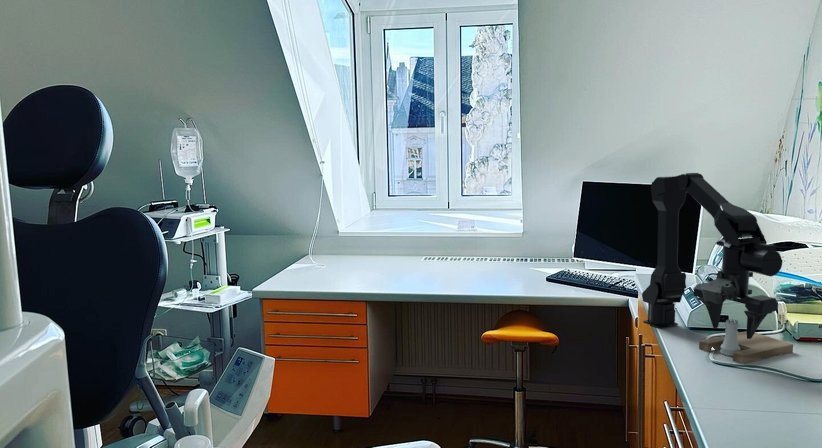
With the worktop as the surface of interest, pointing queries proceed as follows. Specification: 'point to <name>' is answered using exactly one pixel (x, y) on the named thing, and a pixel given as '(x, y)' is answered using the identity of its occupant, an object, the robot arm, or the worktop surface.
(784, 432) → the worktop surface
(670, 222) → the robot arm
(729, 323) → the rook chess piece
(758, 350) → the notched board
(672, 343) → the worktop surface
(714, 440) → the worktop surface
